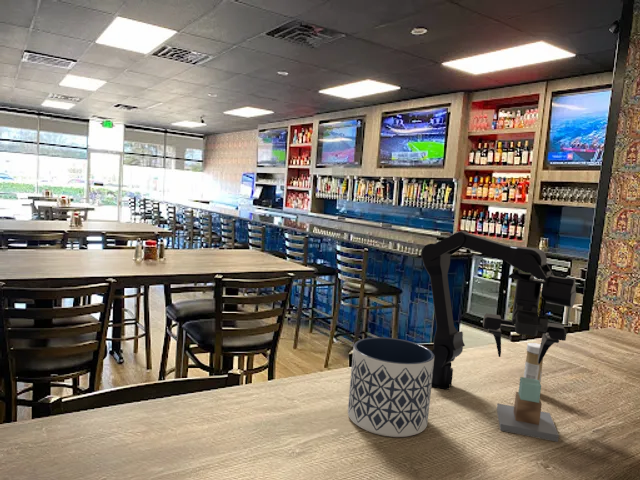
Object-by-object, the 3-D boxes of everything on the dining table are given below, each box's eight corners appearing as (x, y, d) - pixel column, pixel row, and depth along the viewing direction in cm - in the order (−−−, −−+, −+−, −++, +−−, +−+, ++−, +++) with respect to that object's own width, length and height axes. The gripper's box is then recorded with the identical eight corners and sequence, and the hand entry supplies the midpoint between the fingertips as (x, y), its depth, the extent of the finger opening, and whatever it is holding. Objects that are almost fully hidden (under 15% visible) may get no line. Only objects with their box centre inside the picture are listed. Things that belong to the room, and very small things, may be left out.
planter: (376, 445, 98) (383, 367, 97) (333, 407, 114) (338, 340, 113) (444, 431, 107) (452, 359, 105) (395, 397, 123) (401, 335, 121)
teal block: (520, 399, 112) (522, 382, 111) (518, 393, 115) (520, 376, 115) (539, 402, 110) (541, 386, 110) (536, 396, 114) (538, 379, 114)
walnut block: (515, 420, 112) (518, 399, 111) (513, 411, 117) (515, 391, 116) (539, 424, 110) (541, 404, 110) (535, 415, 115) (538, 395, 115)
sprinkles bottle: (542, 393, 134) (548, 346, 133) (533, 396, 131) (539, 348, 130) (527, 387, 138) (533, 341, 136) (518, 389, 135) (523, 343, 134)
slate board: (500, 430, 109) (501, 423, 109) (496, 409, 121) (497, 403, 121) (557, 441, 106) (558, 435, 106) (548, 418, 118) (549, 412, 117)
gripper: (488, 299, 114) (480, 363, 116) (575, 311, 109) (565, 378, 111) (486, 291, 125) (479, 349, 127) (565, 302, 120) (557, 363, 121)
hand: (518, 359), depth 121 cm, fingers open, 9 cm apart
